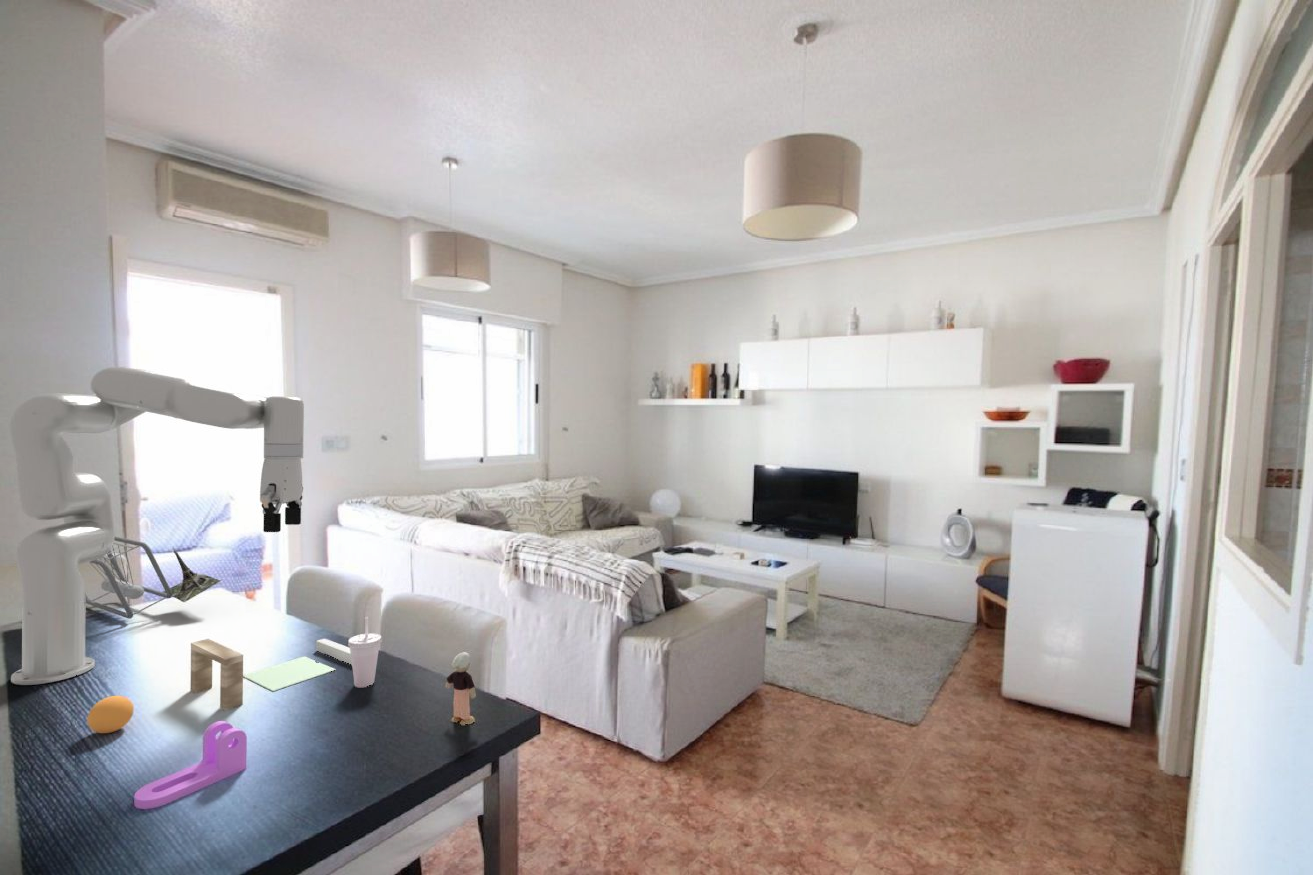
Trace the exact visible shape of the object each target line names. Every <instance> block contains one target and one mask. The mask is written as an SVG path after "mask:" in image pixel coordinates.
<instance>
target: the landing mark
mask: <svg viewBox="0 0 1313 875" xmlns="http://www.w3.org/2000/svg"><path fill="white" fill-rule="evenodd" d="M315 661H316V660H315V659H312V658H310V657H307V656H305V655H304V656H301V657H297V658H295V659H291V660H288V661H285V662H281V663H278V664H276V665H275V664H274V665H272V666H269V667H266V668H262V669H258V670H256V671H253V672H252V671H251V672H248V673H245V674H243V678H245V679H247V680H248V681H251V682H253V683H255V684H257V685H259V686H260V687H263V688H265V689H268V690H269V691H271V692H276V691H279V690H281V689H285V688H287V687H291V686H293V685H296V684H299V683H302V682H305V681H309V680H311V679H314V678H318V677H319V676H323V675H325V674H328V673H332V672H335V671H337V669H336V668H335V667H331V666H329V665H327V664H324V663H323V662H319V663H316V662H315ZM334 670H335V671H334ZM331 671H332V672H331Z"/></svg>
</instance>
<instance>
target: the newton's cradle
mask: <svg viewBox="0 0 1313 875" xmlns="http://www.w3.org/2000/svg"><path fill="white" fill-rule="evenodd" d="M117 542H120V543H117ZM123 543H124V544H123ZM126 544H128V545H126ZM114 545H116V546H114ZM130 545H132V546H130ZM120 546H121V547H120ZM115 547H118V549H116V550H115V549H114V548H115ZM123 548H124V551H123V552H121V549H123ZM126 548H130V549H127V550H126ZM137 548H143V550H144V551H145V553H146V556H147V557H148V559H149V561H150V563H151V565H152V568H153V569H154V571H155V573H156V575H157V577H158V580H159V582H160V583H161V585H162V587H163V589H164V591H166V593H163V591H160V590H158V589H157V590H156V589H152V588H150V587H146V586H142V585H139V584H136V583H134V580H133V576H132V572H131V569H130V568H131V567H130V564H129V558H128V555H127V553H128V552H130V551H133V550H135V549H137ZM111 550H112V551H111ZM111 550H110V551H109V552H108V553H107V554H106V555H105V556H103V557H101V558H99V559H97V560H94V561H91V562H89V563H90V565H92V567H93V568H94V569H95V570H96V571H97V572H98V574H100V576H101V577H102V578H103V579H104V580H102V582H101V588H102V590H103V591H106V592H107V593H105V594H102V595H100V596H98V597H96V598H93V599H92V600H91V599H90V598H89V597H88V595H87V594H86V592H85V596H86V605H88V606H92V607H95V608H98V609H101V610H103V611H106V612H109V613H111V614H114V615H117V616H120V617H123V618H126V619H132V618H133V617H134V616H135V615H136V614H138V613H140V612H142V611H145V610H146V609H147V608H150V607H152V606H154V605H156V604H158V603H160V602H162V601H163V600H166V599H171V598H173V597H172V592H171V589H170V588H171V587H170V586H169V584H168V582H167V581H168V580H166V577H165V575H164V573H163V571H162V570H161V568H160V566H159V564H158V561H157V560H156V558H155V555H154V553H153V552H152V550H151V548H150V547H149V545H148V543H145V542H143V541H138V540H133V539H129V538H125V537H119V536H116V535H115V538H114V544H113V546H112V548H111ZM116 551H118V552H119V553H118V554H116V553H115V552H116ZM123 554H125V558H126V562H127V566H128V569H129V574H130V579H131V582H129V581H128V580H127V576H126V571H125V566H124V563H123V562H124V561H123V559H122V555H123ZM106 556H107V557H106ZM119 556H120V561H121V565H122V569H123V572H122V569H121V568H120V566H119V564H118V562H117V557H119ZM102 559H103V560H102ZM106 562H107V563H108V564H107V563H106ZM93 564H95V565H96V566H97V567H98V568H99V569H100V570H101V572H102V573H103V574H102V573H101V572H100V571H99V569H97V568H96V566H94V565H93ZM108 565H110V567H111V568H110V567H109V566H108ZM101 568H102V569H101ZM114 571H115V573H116V574H115V573H114ZM123 573H124V574H123ZM103 575H105V576H106V577H107V578H105V576H103ZM115 577H116V578H115ZM144 592H146V593H149V594H152V595H155V596H159V597H161V599H159V600H157V601H154V602H153V603H151V604H149V605H147V606H145V607H143V608H141V609H139V610H137V611H136V612H134V611H133V610H132V608H131V606H130V604H129V603H128V601H127V598H128V599H129V600H137V599H139V598H142V596H143V595H144ZM110 594H116V596H117V598H118V600H119V601H120V603H121V605H122V607H123V608H124V610H125V611H122V610H119V609H116V608H113V607H111V606H108V605H105V604H102V603H99V602H96V600H100V599H101V598H103V597H105V596H107V595H110Z"/></svg>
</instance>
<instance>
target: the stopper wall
mask: <svg viewBox="0 0 1313 875" xmlns="http://www.w3.org/2000/svg"><path fill="white" fill-rule="evenodd" d="M316 650H317V651H319V652H322V653H326V654H328V655H330V656H332V657H334V658H333V659H335V658H336V659H335V660H337V659H338V661H340V662H342V661H344V662H343V663H345V662H346V663H345V664H347V663H349V664H348V665H350V664H351V665H350V666H352V660H351V652H350V647H349V646H346V645H344V644H341V643H337V642H335V641H332V640H331V639H328V638H321V639H318V640H316V641H315V651H316ZM317 651H316V652H317ZM319 652H318V653H319ZM322 653H321V654H322ZM330 656H329V657H330ZM332 657H331V658H332Z"/></svg>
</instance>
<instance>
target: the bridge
mask: <svg viewBox="0 0 1313 875" xmlns="http://www.w3.org/2000/svg"><path fill="white" fill-rule="evenodd" d="M213 661H215V662H216V663H219V664H220V673H219V674H220V675H219V676H220V682H219V683H220V684H219V686H220V690H219V691H220V692H219V693H220V694H219V708H220V709H222V710H224V711H227V710H230V709H232V708H235V707H238V706H239V707H240V706H242V705H244V704H243V701H244V699H243V698H244V697H243V696H244V695H243V694H244V690H243V689H244V677H243V675H244V654H243V653H240V652H238V651H236V650H234V649H232V648H229V647H227V646H225V645H223V644H220V643H219V642H217V641H214V640H212V639H209V638H205V639H201V640H198V641H193V642H190V687H189V688H190V691H191V692H192V693H194V694H195V693H199V692H202V691H205V690H208V689H212V688H213Z"/></svg>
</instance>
